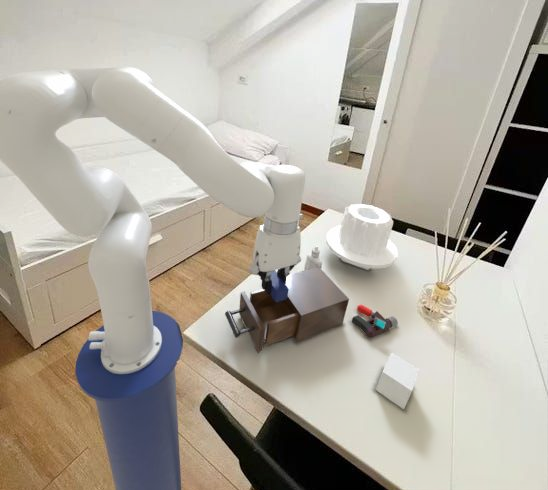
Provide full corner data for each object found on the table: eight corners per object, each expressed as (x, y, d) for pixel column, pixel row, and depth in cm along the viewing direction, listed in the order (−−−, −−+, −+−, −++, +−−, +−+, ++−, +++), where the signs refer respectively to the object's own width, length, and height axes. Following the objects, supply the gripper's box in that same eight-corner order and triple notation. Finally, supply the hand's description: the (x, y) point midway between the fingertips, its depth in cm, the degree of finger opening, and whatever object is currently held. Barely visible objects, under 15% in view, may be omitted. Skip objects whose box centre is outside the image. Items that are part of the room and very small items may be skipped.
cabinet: (296, 342, 72) (301, 315, 68) (271, 303, 83) (275, 278, 79) (342, 324, 78) (349, 298, 75) (314, 290, 89) (318, 266, 86)
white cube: (384, 369, 68) (391, 352, 65) (411, 387, 64) (419, 369, 62) (375, 389, 63) (382, 371, 61) (403, 409, 60) (412, 391, 58)
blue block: (287, 299, 67) (288, 289, 66) (275, 302, 66) (277, 292, 65) (271, 275, 74) (272, 266, 73) (260, 278, 73) (261, 268, 72)
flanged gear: (395, 252, 113) (409, 209, 106) (389, 292, 92) (406, 242, 84) (333, 232, 122) (341, 191, 115) (314, 264, 101) (323, 217, 93)
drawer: (238, 360, 65) (239, 337, 62) (221, 319, 75) (221, 297, 72) (306, 334, 73) (310, 312, 71) (283, 299, 83) (286, 279, 81)
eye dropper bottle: (305, 282, 92) (311, 251, 87) (303, 271, 97) (308, 241, 93) (319, 283, 93) (325, 252, 88) (315, 271, 98) (321, 241, 93)
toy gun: (400, 327, 79) (405, 314, 78) (368, 342, 74) (372, 329, 72) (374, 302, 87) (378, 290, 85) (343, 314, 82) (347, 301, 80)
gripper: (303, 209, 69) (294, 270, 77) (239, 219, 62) (235, 286, 69) (322, 224, 63) (310, 290, 71) (253, 238, 56) (247, 309, 63)
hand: (273, 287), depth 70 cm, fingers closed on blue block, 3 cm apart
